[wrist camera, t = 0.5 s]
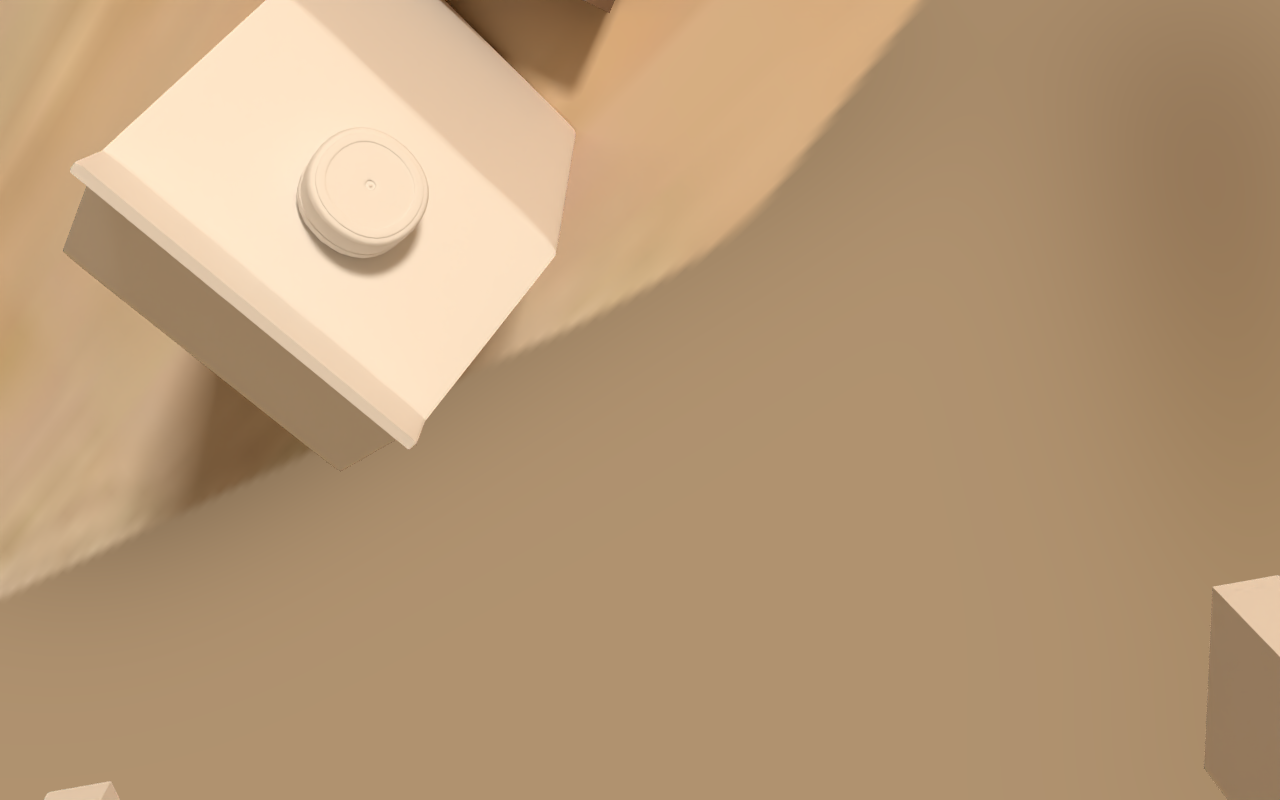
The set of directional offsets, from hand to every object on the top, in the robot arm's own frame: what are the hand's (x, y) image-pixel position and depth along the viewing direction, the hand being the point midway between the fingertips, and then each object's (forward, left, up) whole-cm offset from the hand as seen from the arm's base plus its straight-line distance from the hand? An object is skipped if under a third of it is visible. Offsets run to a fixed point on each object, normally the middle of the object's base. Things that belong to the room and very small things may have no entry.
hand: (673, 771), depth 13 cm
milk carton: (-8, 0, -27) cm, 28 cm away
